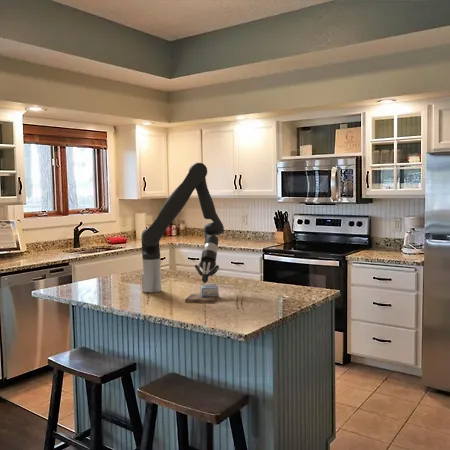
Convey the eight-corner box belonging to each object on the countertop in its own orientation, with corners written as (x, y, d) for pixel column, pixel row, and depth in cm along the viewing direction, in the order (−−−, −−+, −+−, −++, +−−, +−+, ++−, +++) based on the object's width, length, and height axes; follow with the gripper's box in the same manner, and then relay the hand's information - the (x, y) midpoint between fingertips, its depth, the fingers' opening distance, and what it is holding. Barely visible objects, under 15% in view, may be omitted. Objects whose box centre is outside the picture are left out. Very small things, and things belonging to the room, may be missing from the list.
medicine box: (215, 283, 246) (218, 287, 237) (216, 292, 246) (218, 296, 238) (200, 284, 245) (202, 288, 236) (200, 293, 245) (202, 297, 236)
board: (185, 302, 233) (185, 299, 233) (191, 297, 244) (191, 294, 244) (214, 303, 231) (214, 299, 231) (219, 297, 241) (218, 294, 241)
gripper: (195, 249, 251) (189, 277, 240) (221, 249, 249) (216, 278, 238) (198, 257, 257) (192, 286, 246) (223, 258, 254) (218, 286, 243)
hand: (204, 282), depth 242 cm, fingers closed
